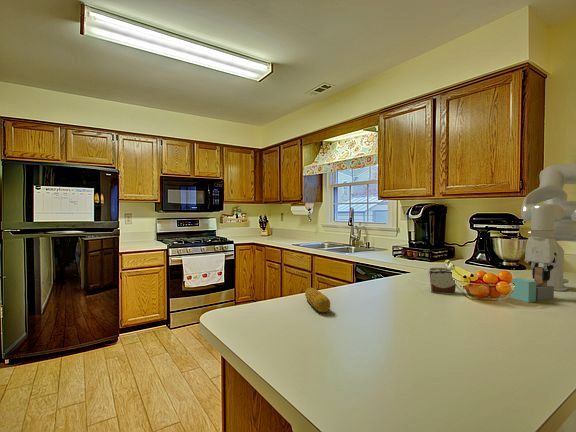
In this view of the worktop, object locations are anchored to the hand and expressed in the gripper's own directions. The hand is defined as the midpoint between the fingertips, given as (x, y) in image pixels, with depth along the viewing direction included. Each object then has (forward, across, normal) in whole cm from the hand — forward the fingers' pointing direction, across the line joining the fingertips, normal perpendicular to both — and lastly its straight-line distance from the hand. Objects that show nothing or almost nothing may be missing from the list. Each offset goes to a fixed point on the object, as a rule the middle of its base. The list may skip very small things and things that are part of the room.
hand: (540, 279), depth 131 cm
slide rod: (+4, 0, -2) cm, 5 cm away
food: (+8, -15, -93) cm, 95 cm away
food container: (+8, -19, -33) cm, 39 cm away
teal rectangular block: (+8, 0, -10) cm, 12 cm away
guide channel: (+8, 0, -1) cm, 8 cm away
